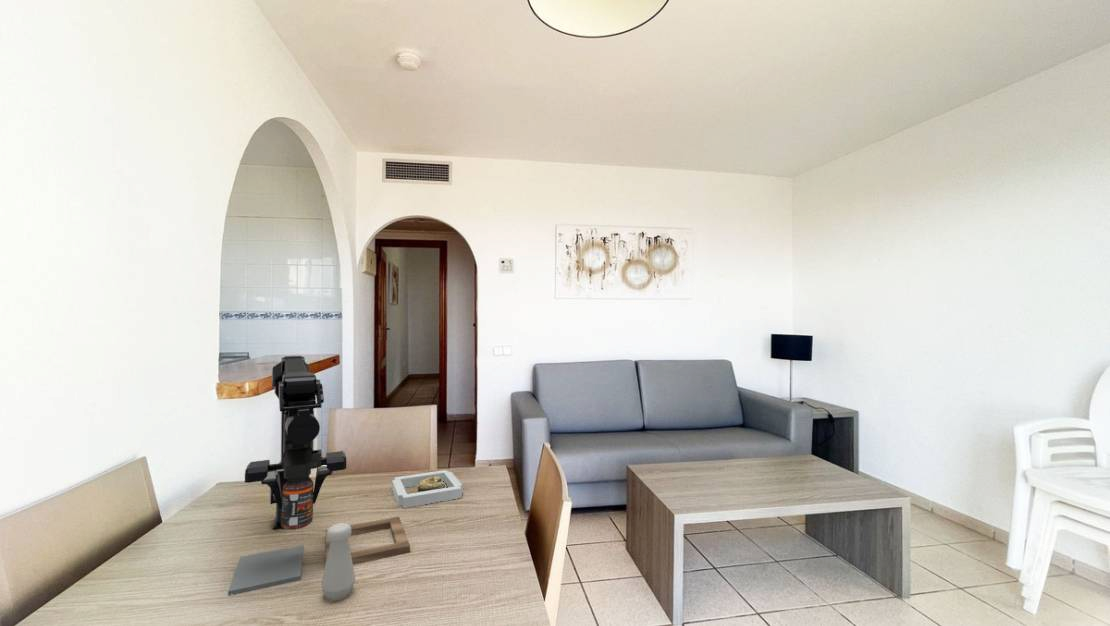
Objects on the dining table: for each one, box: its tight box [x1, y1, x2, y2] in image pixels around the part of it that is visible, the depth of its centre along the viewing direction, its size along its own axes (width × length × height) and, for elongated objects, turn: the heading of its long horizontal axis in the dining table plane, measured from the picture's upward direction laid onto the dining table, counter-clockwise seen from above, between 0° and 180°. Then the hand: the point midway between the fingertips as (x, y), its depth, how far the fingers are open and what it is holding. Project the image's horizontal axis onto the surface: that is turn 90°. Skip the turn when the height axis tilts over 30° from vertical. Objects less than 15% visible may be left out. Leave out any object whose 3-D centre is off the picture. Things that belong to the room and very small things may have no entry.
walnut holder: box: [325, 516, 411, 565], centre depth 106 cm, size 17×17×2 cm
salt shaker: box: [321, 522, 356, 602], centre depth 86 cm, size 6×6×13 cm
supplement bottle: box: [281, 475, 315, 531], centre depth 98 cm, size 6×6×11 cm
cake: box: [416, 476, 446, 493], centre depth 138 cm, size 10×10×5 cm
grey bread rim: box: [391, 469, 464, 510], centre depth 138 cm, size 18×18×3 cm
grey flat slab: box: [227, 544, 304, 596], centre depth 95 cm, size 14×12×1 cm
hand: (297, 505), depth 98 cm, fingers closed on supplement bottle, 6 cm apart
